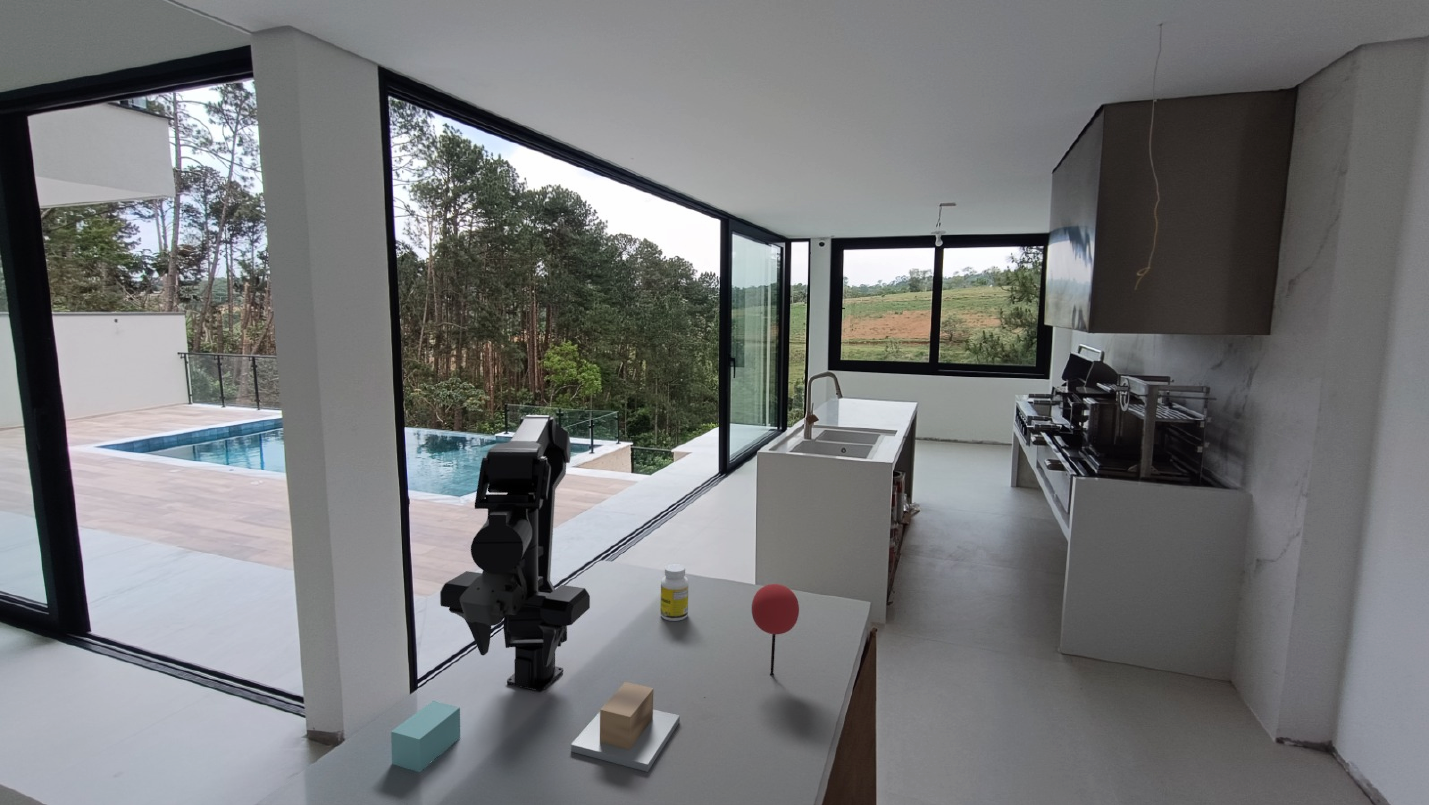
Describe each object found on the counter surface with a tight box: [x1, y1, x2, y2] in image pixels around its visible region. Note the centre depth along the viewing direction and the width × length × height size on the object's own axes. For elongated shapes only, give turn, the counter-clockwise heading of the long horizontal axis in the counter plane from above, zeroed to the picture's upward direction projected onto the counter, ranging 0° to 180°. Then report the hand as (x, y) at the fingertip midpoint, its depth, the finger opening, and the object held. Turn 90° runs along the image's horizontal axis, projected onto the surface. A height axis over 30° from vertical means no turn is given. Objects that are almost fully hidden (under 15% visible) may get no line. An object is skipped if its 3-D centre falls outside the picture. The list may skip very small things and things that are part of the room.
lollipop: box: [751, 583, 800, 676], centre depth 103 cm, size 8×8×15 cm
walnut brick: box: [599, 681, 654, 750], centre depth 86 cm, size 7×4×4 cm, turn 161°
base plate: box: [570, 708, 681, 773], centre depth 86 cm, size 11×11×1 cm
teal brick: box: [390, 700, 461, 773], centre depth 82 cm, size 7×4×4 cm, turn 162°
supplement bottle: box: [659, 563, 689, 622], centre depth 123 cm, size 5×5×10 cm
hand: (515, 659), depth 83 cm, fingers open, 9 cm apart
